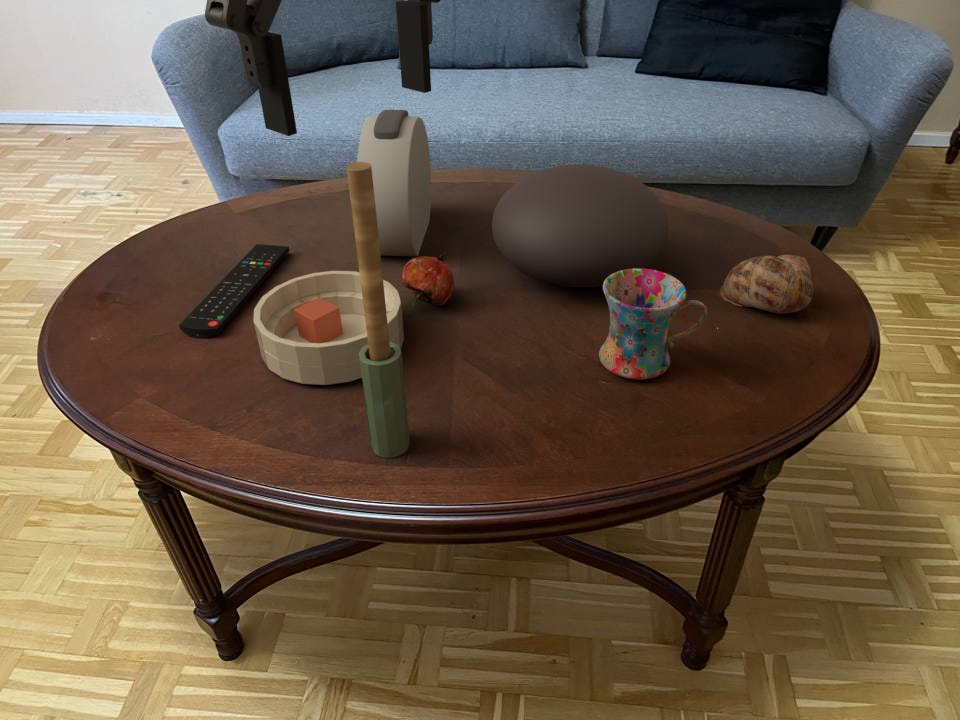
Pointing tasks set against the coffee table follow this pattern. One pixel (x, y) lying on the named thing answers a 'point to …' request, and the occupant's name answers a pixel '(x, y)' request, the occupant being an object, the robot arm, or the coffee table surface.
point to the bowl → (320, 359)
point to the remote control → (232, 291)
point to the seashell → (770, 284)
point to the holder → (385, 402)
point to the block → (318, 321)
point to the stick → (369, 258)
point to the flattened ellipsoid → (579, 225)
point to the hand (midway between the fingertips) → (354, 109)
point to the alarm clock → (398, 179)
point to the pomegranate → (428, 279)
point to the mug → (642, 321)
